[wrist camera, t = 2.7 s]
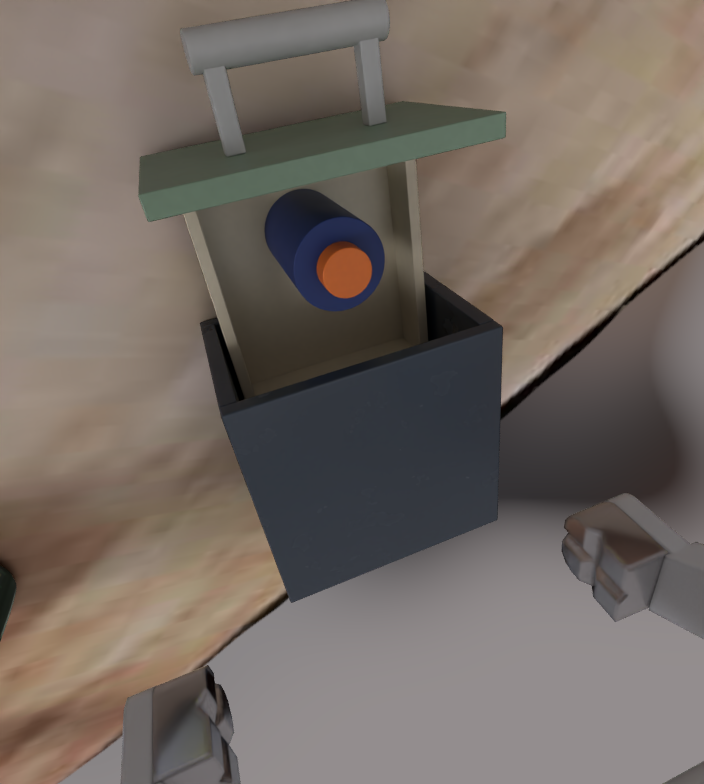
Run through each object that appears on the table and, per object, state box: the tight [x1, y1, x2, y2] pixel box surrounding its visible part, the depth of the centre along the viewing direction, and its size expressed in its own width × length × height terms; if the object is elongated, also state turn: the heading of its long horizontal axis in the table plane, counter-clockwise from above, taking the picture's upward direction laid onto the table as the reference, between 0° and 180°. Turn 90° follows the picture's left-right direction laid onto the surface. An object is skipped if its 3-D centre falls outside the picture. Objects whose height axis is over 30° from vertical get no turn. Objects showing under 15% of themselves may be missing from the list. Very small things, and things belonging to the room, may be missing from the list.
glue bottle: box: [264, 189, 385, 311], centre depth 24 cm, size 4×4×7 cm
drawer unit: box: [200, 272, 503, 603], centre depth 30 cm, size 14×14×10 cm
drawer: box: [138, 0, 506, 399], centre depth 24 cm, size 18×14×9 cm
